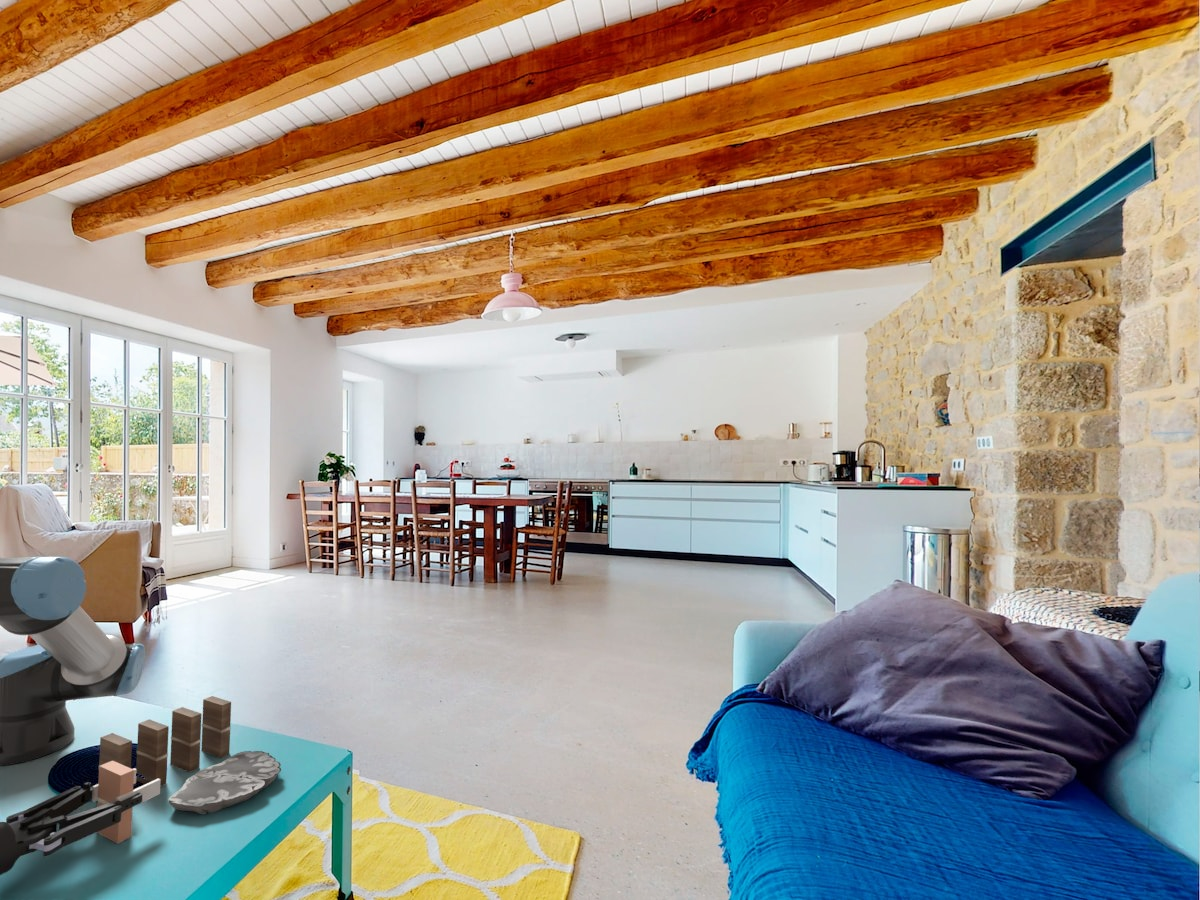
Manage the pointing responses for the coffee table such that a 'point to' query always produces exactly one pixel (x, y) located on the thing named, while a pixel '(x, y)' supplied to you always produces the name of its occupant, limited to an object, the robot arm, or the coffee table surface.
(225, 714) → the domino
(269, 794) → the coffee table surface
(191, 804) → the brain slice
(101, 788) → the domino
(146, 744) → the domino
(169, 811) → the coffee table surface
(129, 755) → the domino
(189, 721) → the domino
